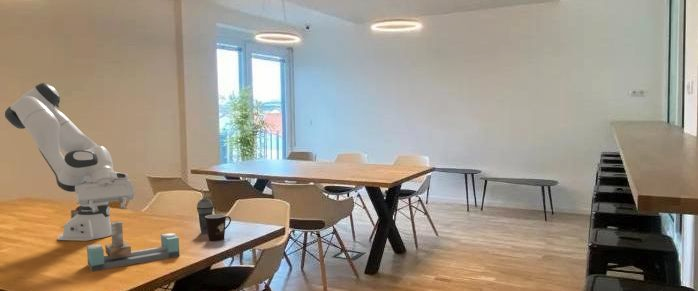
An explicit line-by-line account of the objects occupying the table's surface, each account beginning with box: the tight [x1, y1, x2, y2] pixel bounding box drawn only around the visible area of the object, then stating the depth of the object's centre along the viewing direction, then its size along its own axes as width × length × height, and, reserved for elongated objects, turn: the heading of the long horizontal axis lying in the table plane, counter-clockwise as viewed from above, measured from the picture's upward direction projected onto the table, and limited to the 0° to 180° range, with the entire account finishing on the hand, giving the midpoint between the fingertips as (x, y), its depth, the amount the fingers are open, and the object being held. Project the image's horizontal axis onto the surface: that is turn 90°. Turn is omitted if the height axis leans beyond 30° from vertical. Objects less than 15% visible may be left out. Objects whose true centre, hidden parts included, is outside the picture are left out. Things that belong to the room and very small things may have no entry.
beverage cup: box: [196, 188, 214, 235], centre depth 230 cm, size 7×7×20 cm
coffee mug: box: [205, 213, 232, 242], centre depth 219 cm, size 12×9×10 cm
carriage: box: [104, 220, 132, 258], centre depth 186 cm, size 7×9×12 cm
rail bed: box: [86, 232, 181, 272], centre depth 189 cm, size 30×10×8 cm, turn 124°
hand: (109, 209), depth 192 cm, fingers open, 8 cm apart
